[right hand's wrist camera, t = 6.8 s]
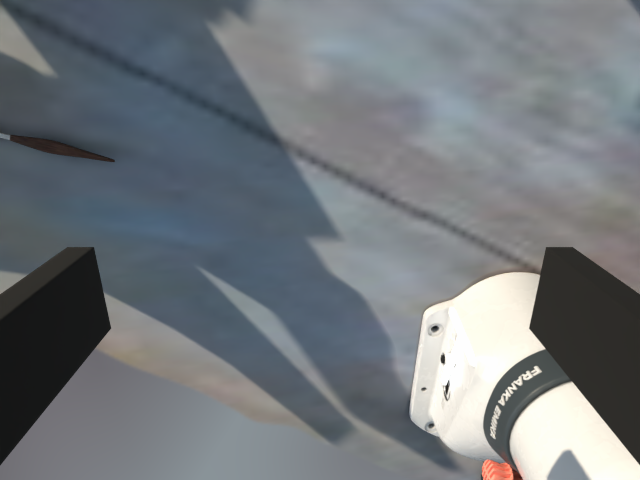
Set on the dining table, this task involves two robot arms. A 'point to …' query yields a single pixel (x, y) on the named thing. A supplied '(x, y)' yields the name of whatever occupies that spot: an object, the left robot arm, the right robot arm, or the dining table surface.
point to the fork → (53, 147)
